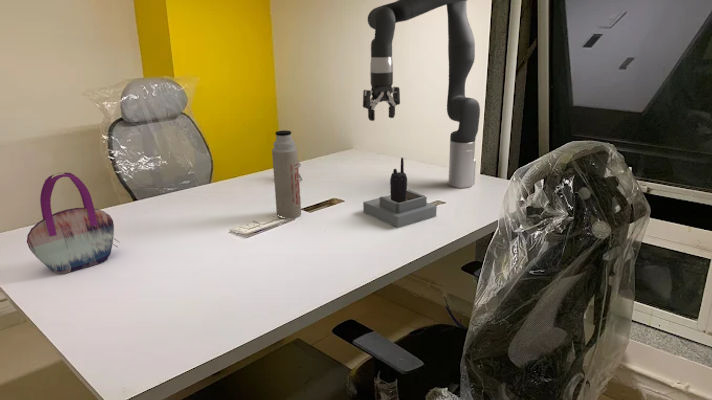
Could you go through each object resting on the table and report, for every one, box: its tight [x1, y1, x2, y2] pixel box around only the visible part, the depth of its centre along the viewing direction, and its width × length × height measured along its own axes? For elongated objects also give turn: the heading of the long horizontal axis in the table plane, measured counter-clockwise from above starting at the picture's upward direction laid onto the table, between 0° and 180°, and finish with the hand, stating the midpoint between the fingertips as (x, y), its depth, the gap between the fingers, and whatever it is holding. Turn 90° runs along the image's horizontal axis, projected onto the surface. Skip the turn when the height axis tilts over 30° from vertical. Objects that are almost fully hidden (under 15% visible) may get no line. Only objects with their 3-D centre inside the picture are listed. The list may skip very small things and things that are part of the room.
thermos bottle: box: [271, 129, 302, 220], centre depth 165 cm, size 8×8×28 cm
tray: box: [362, 189, 438, 229], centre depth 167 cm, size 16×18×6 cm
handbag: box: [26, 172, 120, 274], centre depth 134 cm, size 21×10×25 cm, turn 131°
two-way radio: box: [389, 157, 408, 203], centre depth 165 cm, size 6×4×15 cm
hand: (381, 119), depth 177 cm, fingers open, 8 cm apart
